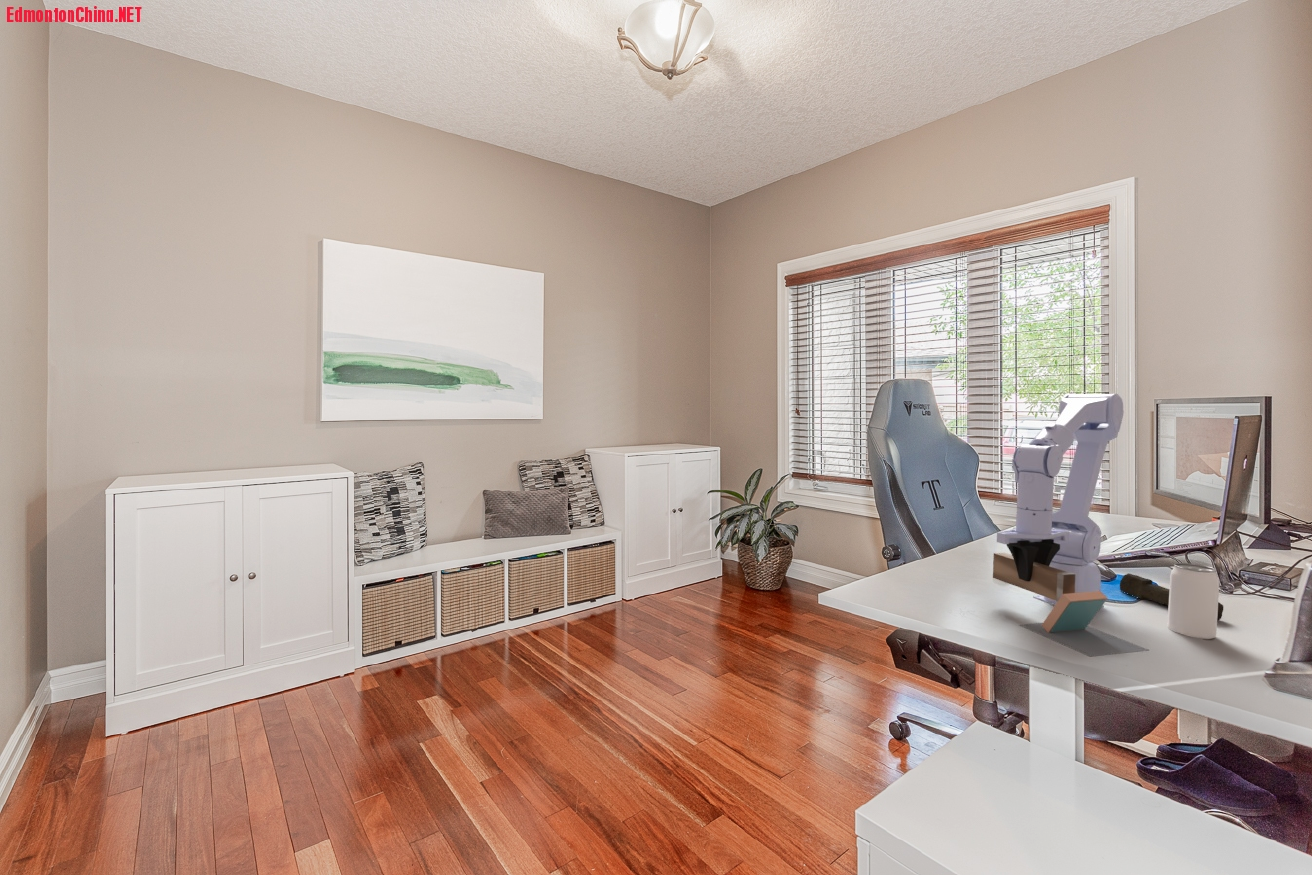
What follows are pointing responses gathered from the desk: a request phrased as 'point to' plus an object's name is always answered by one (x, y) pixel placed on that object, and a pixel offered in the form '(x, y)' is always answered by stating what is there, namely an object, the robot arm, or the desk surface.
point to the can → (1193, 600)
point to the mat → (1087, 640)
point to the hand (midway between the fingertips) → (1031, 579)
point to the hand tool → (1150, 590)
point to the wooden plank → (1034, 577)
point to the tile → (1074, 611)
